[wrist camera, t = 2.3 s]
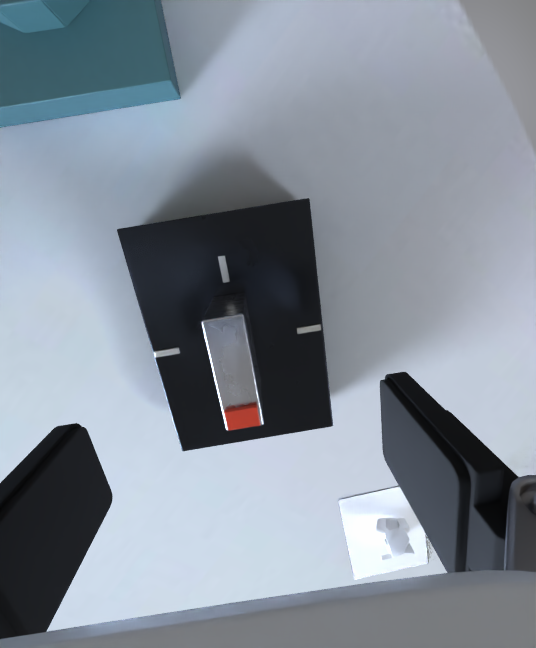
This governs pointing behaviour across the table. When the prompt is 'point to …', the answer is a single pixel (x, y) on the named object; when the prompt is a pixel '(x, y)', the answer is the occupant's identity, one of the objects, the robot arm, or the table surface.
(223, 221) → the dial panel
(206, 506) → the table surface
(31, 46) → the button housing
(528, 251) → the table surface
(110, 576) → the table surface
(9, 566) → the robot arm
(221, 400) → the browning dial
